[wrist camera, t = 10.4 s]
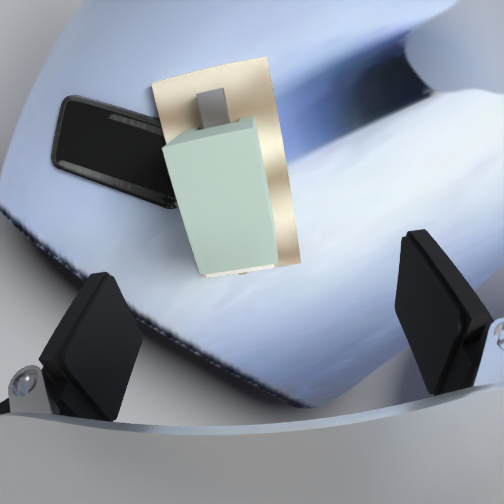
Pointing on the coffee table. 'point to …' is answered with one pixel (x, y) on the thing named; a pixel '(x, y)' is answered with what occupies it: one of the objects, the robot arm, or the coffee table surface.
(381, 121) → the coffee table surface
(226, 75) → the board
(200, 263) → the mint green box
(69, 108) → the phone
